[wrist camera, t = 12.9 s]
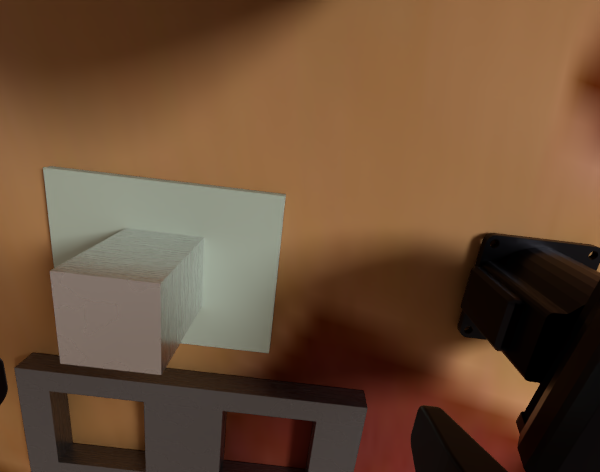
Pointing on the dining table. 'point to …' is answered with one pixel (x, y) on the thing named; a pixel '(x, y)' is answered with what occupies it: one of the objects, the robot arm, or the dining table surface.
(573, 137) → the dining table surface
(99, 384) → the grey flat frame
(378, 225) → the dining table surface
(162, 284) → the steel peg
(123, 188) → the sage mat
